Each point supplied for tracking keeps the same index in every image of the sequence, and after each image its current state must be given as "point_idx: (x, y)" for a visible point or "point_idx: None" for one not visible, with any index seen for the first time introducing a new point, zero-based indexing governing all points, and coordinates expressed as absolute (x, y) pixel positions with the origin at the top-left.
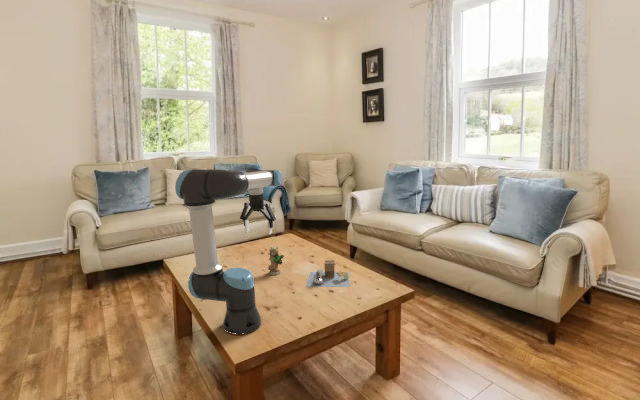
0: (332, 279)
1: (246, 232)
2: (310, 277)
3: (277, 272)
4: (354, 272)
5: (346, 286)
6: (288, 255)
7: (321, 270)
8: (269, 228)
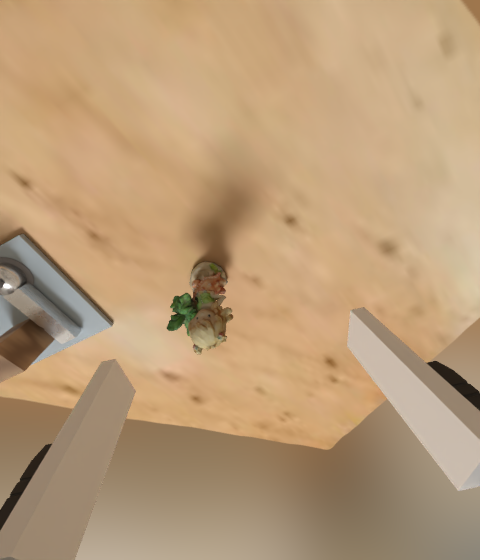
0: (5, 315)
1: (355, 311)
2: (74, 297)
3: (192, 279)
4: (17, 376)
5: None
6: (255, 378)
7: (58, 336)
8: (68, 430)
